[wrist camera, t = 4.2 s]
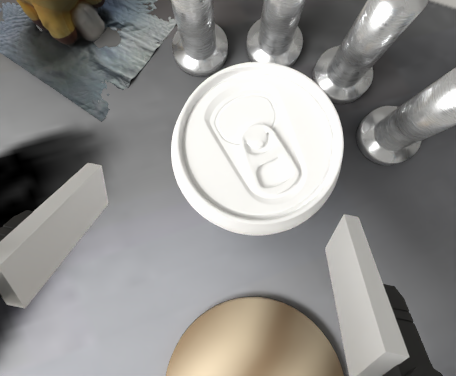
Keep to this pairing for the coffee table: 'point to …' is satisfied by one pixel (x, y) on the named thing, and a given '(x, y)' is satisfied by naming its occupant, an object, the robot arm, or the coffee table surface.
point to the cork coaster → (253, 343)
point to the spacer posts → (328, 66)
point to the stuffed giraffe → (81, 44)
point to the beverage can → (257, 148)
